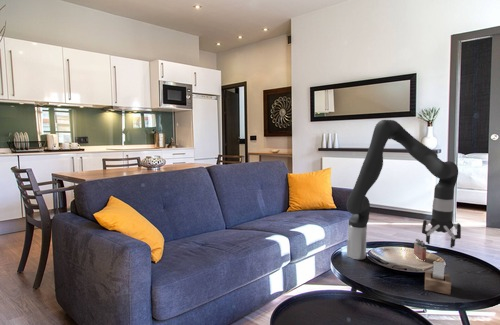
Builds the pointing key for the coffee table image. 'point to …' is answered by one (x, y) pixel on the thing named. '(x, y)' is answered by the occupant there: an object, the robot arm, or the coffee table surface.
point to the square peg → (438, 271)
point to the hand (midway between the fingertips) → (439, 245)
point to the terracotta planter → (420, 249)
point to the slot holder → (437, 283)
